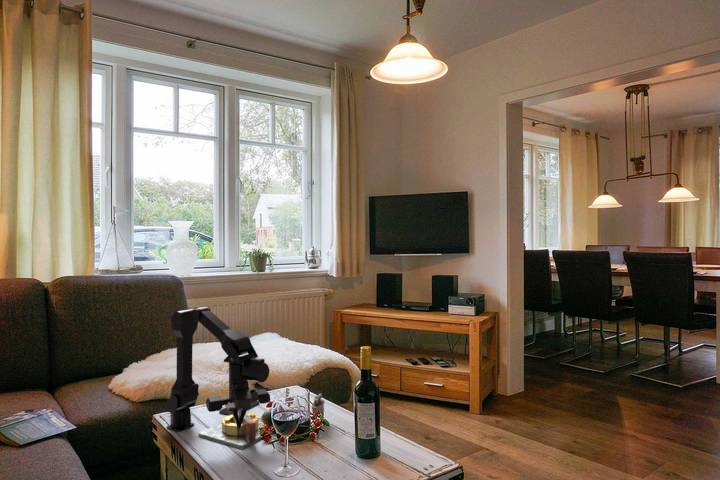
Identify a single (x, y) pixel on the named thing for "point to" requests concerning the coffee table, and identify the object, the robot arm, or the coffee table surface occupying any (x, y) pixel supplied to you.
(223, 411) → the phone
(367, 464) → the coffee table surface
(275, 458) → the coffee table surface
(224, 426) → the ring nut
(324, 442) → the coffee table surface
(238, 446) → the grey base plate
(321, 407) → the lighter
